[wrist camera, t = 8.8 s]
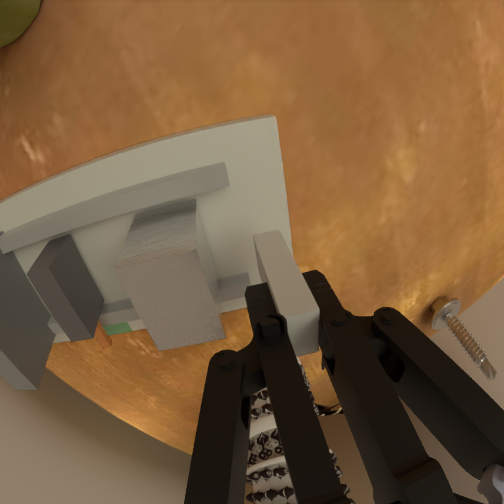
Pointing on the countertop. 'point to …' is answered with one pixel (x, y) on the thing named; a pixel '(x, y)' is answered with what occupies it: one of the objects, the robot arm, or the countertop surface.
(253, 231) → the base
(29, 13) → the plant pot
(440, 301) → the screw
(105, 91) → the countertop surface
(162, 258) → the plunger
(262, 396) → the decorative candle
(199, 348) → the countertop surface
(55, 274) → the dark grey upright block
